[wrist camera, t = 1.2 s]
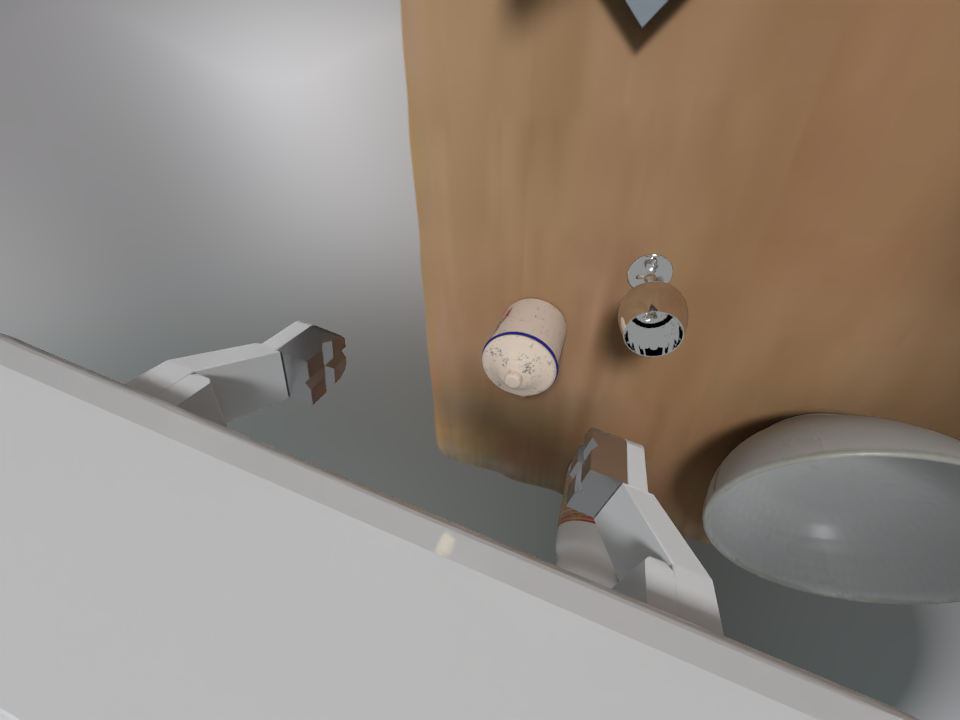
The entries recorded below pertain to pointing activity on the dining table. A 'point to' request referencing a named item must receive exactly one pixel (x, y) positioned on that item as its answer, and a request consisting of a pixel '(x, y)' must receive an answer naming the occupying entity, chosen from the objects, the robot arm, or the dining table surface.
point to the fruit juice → (582, 545)
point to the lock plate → (645, 9)
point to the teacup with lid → (526, 348)
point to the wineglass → (652, 308)
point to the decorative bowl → (843, 509)
